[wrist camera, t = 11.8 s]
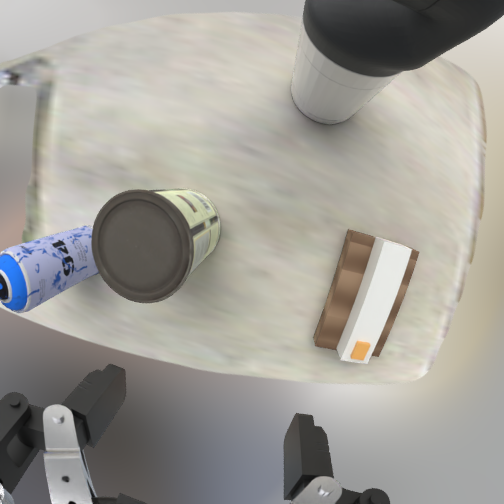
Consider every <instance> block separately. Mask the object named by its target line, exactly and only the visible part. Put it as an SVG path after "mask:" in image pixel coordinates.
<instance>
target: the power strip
mask: <svg viewBox="0 0 504 504" xmlns="http://www.w3.org/2000/svg"><path fill="white" fill-rule="evenodd" d="M411 251H412V249H410V248H408V247H406V246H404V245H402V244H398V243H395V242H392V241H389V240H386V239H382V238H379V237H376V238H375V241H374V245H373V248H372V251H371V254H370V258H369V261H368V264H367V267H366V270H365V273H364V276H363V279H362V282H361V285H360V288H359V291H358V294H357V296H356V299H355V302H354V305H353V307H352V310H351V313H350V316H349V318H348V321H347V323H346V326H345V328H344V331H343V333H342V336H341V338H340V341H339V343H338V346H337V348H336V349H337V352H338V354H339V357H340V360H344V361H350V362H356V363H363V364H367V363H368V361H369V359H370V357H371V355H372V353H373V351H374V348H375V346H376V344H377V342H378V340H379V337H380V335H381V333H382V330H383V328H384V326H385V323H386V321H387V318H388V316H389V314H390V311H391V309H392V306H393V303H394V301H395V298H396V296H397V293H398V290H399V287H400V285H401V282H402V279H403V276H404V273H405V270H406V267H407V264H408V261H409V258H410V255H411Z"/></svg>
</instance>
